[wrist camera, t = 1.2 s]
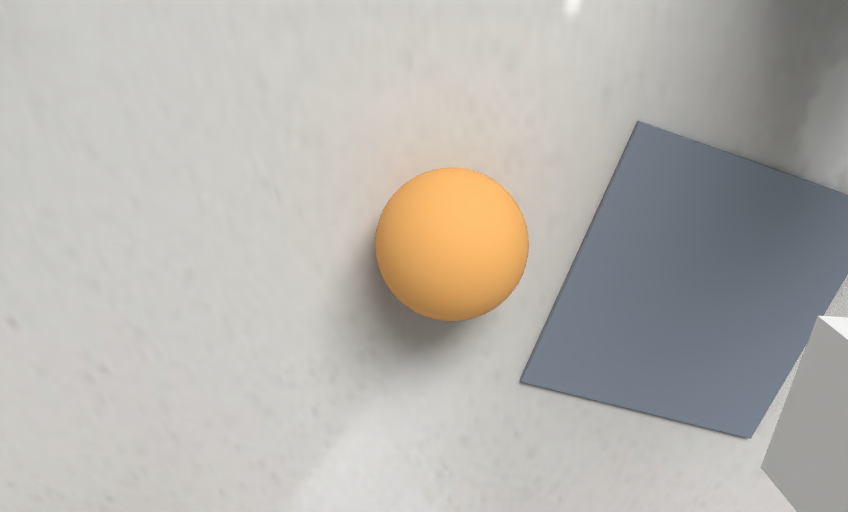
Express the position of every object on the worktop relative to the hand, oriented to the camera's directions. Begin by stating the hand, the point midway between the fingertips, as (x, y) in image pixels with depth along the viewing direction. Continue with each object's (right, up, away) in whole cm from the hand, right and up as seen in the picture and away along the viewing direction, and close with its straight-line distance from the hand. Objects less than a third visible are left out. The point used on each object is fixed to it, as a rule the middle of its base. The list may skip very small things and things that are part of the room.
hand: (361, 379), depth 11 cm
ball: (+2, +2, +18) cm, 18 cm away
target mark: (+13, 0, +23) cm, 27 cm away
